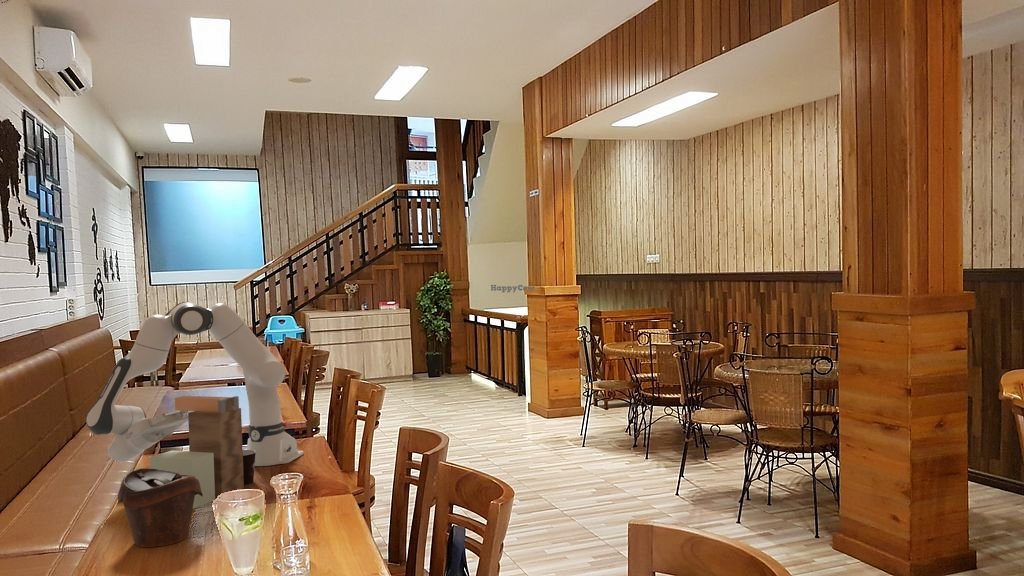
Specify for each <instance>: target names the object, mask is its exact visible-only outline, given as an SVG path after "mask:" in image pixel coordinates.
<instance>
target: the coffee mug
mask: <svg viewBox="0 0 1024 576" xmlns="http://www.w3.org/2000/svg"><path fill="white" fill-rule="evenodd" d="M255 455H256V451H255V450H247V449H243V476H244V486H247V485H248V486H249V485H251V484H252V483H254V475H255V467H256V466H255Z"/></svg>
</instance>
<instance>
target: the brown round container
mask: <svg viewBox="0 0 1024 576" xmlns="http://www.w3.org/2000/svg"><path fill="white" fill-rule="evenodd" d="M196 494H199V495H201V496H202V497H203V494H202V491H201V487H200V483H199V480H198V479H196V478H195V476H190V475H184V474H180V473H176V472H171V471H166V470H158V469H151V468H150V467H148V468H142V467H141V468H138V469H137V468H136V469H133V470H131V471H130V472H128V473H127V474H126V475H125V476H124V477H123V479H122V481H121V482H120V487H119V490H118V494H117V502H118V503H122V504H123V507H124V509H125V514H126V517H127V521H128V525H129V529H130V531H131V532H130V533H131V535H132V538H133V543H134V544H135V546H138V547H140V548H144V549H145V548H159V547H165V546H169V545H174V544H176V543H179V542H181V541H184V540H185V539H186V538H187V537H188V536H189V532H190V531H189V530H190V524H191V518H192V513H193V510H194V509H193V503H194V497H195V495H196Z"/></svg>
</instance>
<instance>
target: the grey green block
mask: <svg viewBox="0 0 1024 576" xmlns="http://www.w3.org/2000/svg"><path fill="white" fill-rule="evenodd" d="M148 458H149V459H148V462H149V467H148V468H151V469H158V470H166V471H171V472H176V473H180V474H184V475H190V476H195V478H196V479H198V480H199V483H200V487H201V491H202V494H203V497H202V496H201V495H199V494H196V495H195V497H194V503H193V509H192V510H194V509H196V508H199V507H202V506H204V505H207V504H209V503H211V502H215V501H216V497H215V481H214V453H207V452H191V451H190V450H189V451H188V450H173V449H172V450H169V451H166V452H162V453H159V454H156V455H151V456H149V457H148Z"/></svg>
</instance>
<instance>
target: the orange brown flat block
mask: <svg viewBox="0 0 1024 576" xmlns="http://www.w3.org/2000/svg"><path fill="white" fill-rule="evenodd" d="M239 401H240V399H239V396H237V395H235V396H232V397H230V396H201V395H199V396H198V395H197V396H196V395H194V396H193V395H182V396H177V397H174V411H180V410H181V411H188V412H193V411H207V412H218V413H225V412H229V411H232V410H236V409H239V408H240V403H239Z"/></svg>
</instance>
